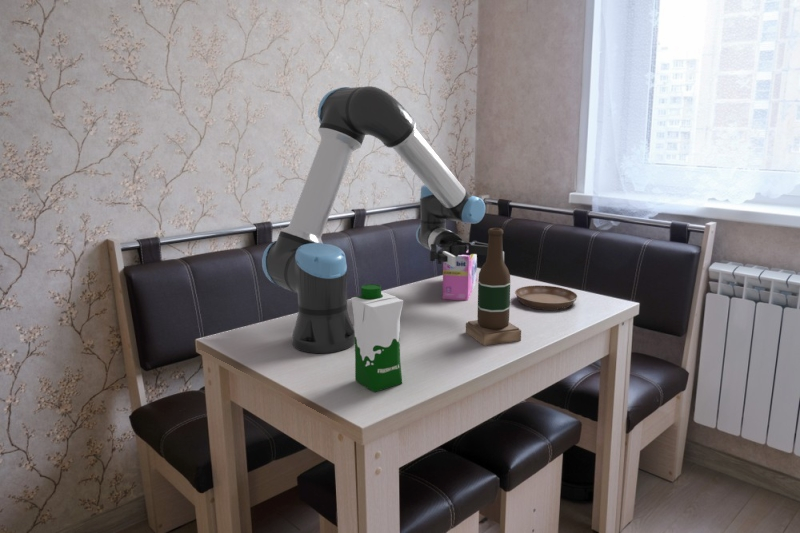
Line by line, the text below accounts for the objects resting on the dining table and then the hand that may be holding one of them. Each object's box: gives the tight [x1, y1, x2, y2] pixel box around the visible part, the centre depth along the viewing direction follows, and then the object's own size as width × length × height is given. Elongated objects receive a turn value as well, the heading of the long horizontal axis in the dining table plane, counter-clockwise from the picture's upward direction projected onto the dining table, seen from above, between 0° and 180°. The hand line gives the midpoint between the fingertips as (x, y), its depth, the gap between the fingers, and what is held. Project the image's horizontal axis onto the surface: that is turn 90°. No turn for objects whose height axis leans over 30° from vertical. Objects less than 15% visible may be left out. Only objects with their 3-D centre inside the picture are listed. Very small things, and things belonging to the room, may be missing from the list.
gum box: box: [442, 250, 478, 301], centre depth 197 cm, size 24×8×14 cm, turn 167°
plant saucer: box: [514, 285, 578, 311], centre depth 184 cm, size 18×18×3 cm
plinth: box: [465, 319, 522, 347], centre depth 157 cm, size 10×10×3 cm
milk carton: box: [350, 283, 404, 393], centre depth 128 cm, size 9×9×20 cm
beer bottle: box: [477, 227, 511, 329], centre depth 153 cm, size 8×8×24 cm
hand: (478, 259), depth 160 cm, fingers open, 13 cm apart
